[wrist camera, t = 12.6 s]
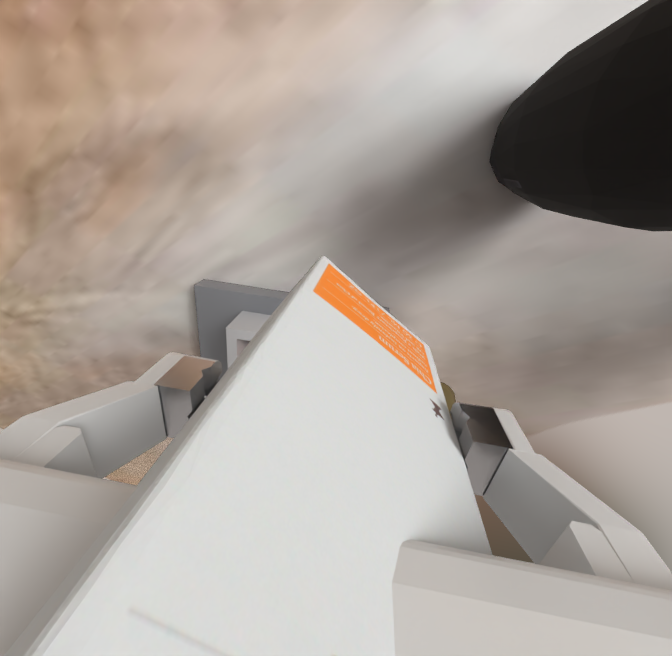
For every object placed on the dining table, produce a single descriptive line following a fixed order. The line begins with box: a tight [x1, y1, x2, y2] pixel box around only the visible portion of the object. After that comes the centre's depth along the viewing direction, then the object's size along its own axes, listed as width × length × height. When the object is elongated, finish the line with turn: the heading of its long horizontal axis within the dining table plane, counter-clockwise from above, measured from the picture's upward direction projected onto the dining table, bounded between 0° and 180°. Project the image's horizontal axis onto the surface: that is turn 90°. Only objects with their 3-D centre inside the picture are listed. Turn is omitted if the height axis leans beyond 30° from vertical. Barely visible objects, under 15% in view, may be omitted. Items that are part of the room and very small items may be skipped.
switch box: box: [194, 279, 389, 380], centre depth 34 cm, size 20×16×6 cm
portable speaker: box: [490, 0, 672, 231], centre depth 16 cm, size 9×9×20 cm
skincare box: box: [4, 256, 492, 656], centre depth 8 cm, size 6×4×12 cm
